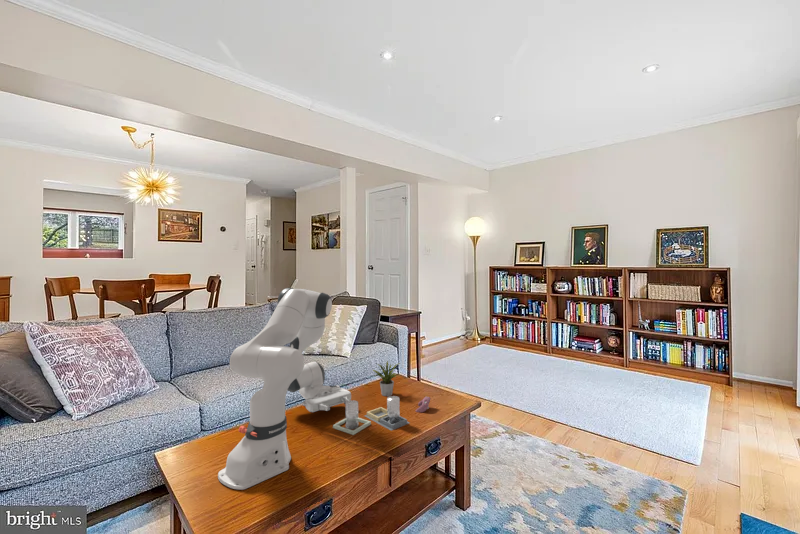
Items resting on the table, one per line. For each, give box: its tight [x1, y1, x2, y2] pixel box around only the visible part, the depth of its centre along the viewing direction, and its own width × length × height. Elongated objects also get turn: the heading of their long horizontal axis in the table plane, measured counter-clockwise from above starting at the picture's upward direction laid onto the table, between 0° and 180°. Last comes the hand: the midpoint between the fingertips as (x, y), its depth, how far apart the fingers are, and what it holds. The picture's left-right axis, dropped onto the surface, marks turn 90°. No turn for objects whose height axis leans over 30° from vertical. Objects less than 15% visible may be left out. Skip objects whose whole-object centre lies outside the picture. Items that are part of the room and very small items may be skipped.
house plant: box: [372, 360, 401, 397], centre depth 183 cm, size 14×14×16 cm
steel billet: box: [344, 399, 359, 430], centre depth 145 cm, size 5×5×10 cm
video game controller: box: [415, 396, 431, 413], centre depth 162 cm, size 10×5×7 cm, turn 169°
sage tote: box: [332, 417, 372, 436], centre depth 145 cm, size 11×11×2 cm
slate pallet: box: [364, 406, 411, 432], centre depth 151 cm, size 18×10×3 cm, turn 41°
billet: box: [386, 395, 401, 424], centre depth 147 cm, size 5×5×10 cm
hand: (338, 405), depth 152 cm, fingers open, 8 cm apart
